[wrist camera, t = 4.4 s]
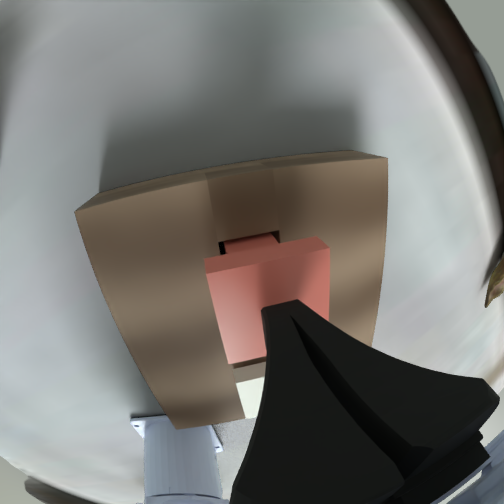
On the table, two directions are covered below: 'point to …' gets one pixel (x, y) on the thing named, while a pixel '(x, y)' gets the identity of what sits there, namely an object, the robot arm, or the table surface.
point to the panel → (206, 245)
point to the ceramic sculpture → (495, 283)
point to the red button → (264, 286)
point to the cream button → (250, 387)
